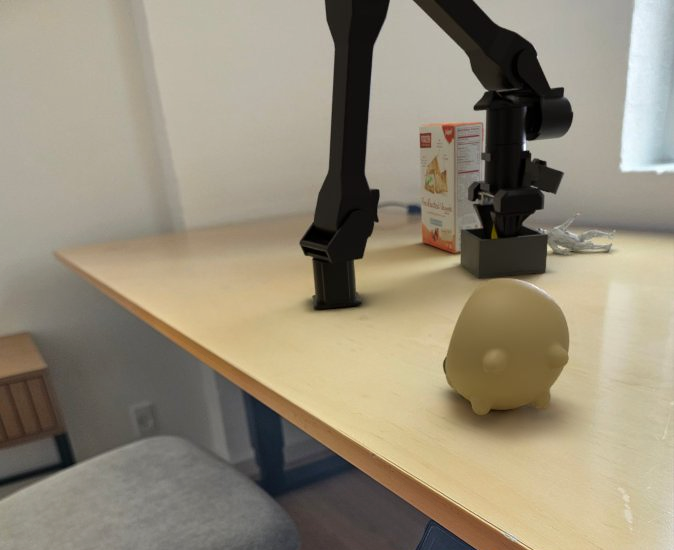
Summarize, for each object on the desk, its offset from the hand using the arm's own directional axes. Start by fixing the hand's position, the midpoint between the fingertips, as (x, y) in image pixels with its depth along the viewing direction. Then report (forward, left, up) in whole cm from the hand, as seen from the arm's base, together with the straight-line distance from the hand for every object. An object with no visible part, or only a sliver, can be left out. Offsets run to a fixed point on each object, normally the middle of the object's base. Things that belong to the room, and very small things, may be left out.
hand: (500, 254), depth 102 cm
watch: (0, 0, -1) cm, 1 cm away
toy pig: (-52, +16, -2) cm, 54 cm away
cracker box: (+22, +3, -2) cm, 22 cm away
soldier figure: (+8, -15, -2) cm, 17 cm away
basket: (0, 0, -2) cm, 2 cm away
